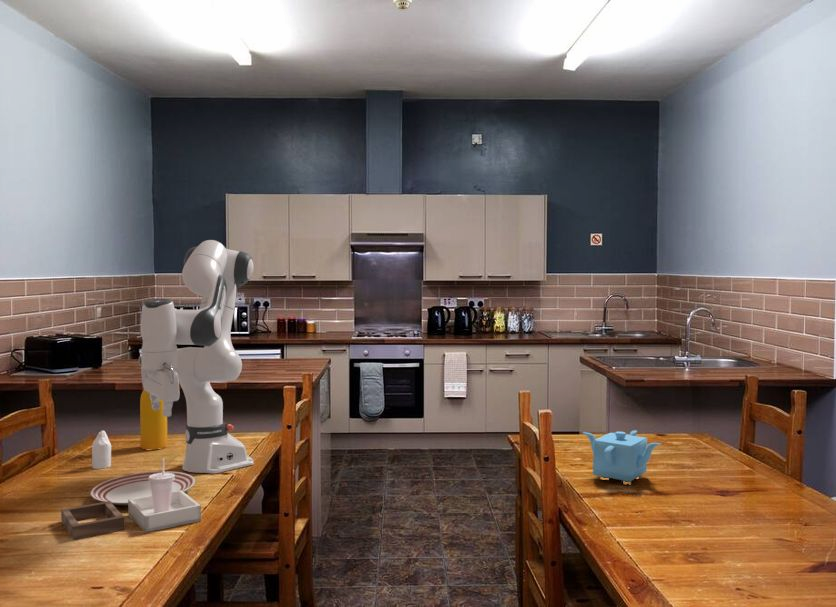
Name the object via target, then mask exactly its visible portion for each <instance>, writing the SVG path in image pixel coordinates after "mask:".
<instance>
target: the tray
mask: <svg viewBox="0 0 836 607" xmlns="http://www.w3.org/2000/svg"><path fill="white" fill-rule="evenodd" d="M201 505H202V504H200V503H199V502H197V501H196V500H195V499H193V498H192V497H191V496H190V495H188V494H187V493H186V492H183V491H182V490H178V491H172V496H171V505H170V511H164V512H159V513H154V507H153V500H152V495H150V496H145V497H139V498H133V499H128V506H127V507H128V508H127V509H128V514H129V515H130V516H131V517H132V518H131V517H130V516H129V515H128V514H127V515H128V516H129V517H130V518H131V519H132V520H133V521H134V522H135V524H136V525H137V526H139V528H140V527H141V528H142V529H143V530H144V531H143V530H142V529H141V528H140V529H141V530H142V531H143V532H144V533H145V532H146V533H149V532H150V531H151V532H154V531H155V530H156V531H160V530H164V529H169V528H174V527H179V526H183V525H190V524H193V523H198V522H201V521H202V506H201Z"/></svg>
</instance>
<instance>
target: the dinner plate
mask: <svg viewBox="0 0 836 607" xmlns="http://www.w3.org/2000/svg"><path fill="white" fill-rule="evenodd" d="M164 471H165V470H164ZM165 472H167V473H173V474H174V475H175V479H174V480H173V488H172V491H178V490H182V491H183V492H184V493H186V492H188V491H189V490H191V488H192V487H193V486H194V485H195V483H196V479H195V477H194V476H192V475H191V474H187V473H185V472H180V471H169V470H167V471H165ZM156 473H162V470H160V471H159V470H157V471H156V470H154V471H143V472H136V473H135V472H134V473H130V474H126V475H125V474H124V475H122V476H121V475H120V476H117V477H114V478H111V479H108V480H105V481H103V482H100V483H99V484H97V485H96V486H94V487H93V488H92V490H90V496H91V497H92V499H93V500H96V501H98V502H100V503H101V502H107V501H110V502H111V503H112V504H113V505H117V506H125V507H128V499H133V498H139V497H145V496H150V495H152V493H151V486H150V482H149V481H148V480H149V476H150V475H153V474H156Z"/></svg>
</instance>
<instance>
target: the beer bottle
mask: <svg viewBox="0 0 836 607" xmlns="http://www.w3.org/2000/svg"><path fill="white" fill-rule="evenodd" d="M139 400H140V401H139V403H140V404H139V410H140V412H139V415H140V418H139V419H140V420H139V421H140V426H139V427H140V432H139V433H140V442H139V444H140V449H141V448H142V449H141V450H143V449H158V448H163V447H165V446H167V447H168V443H169V441H168V417H165V416H163V409H164V404H163V400H161V399H159V403H160V409H159V410H153V409H152V403H151V399H150V393H148V392H147V391H145V390H144V389H142V392H141V394H140V399H139Z"/></svg>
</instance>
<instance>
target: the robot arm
mask: <svg viewBox="0 0 836 607" xmlns="http://www.w3.org/2000/svg"><path fill="white" fill-rule="evenodd" d="M184 255H185V256H184V259H183V267H182V268H183V269H182V271H181V277H182V281H183V284H184V285H185V287H186V288H187V289H188V290H189V291H190V292H192V293H193V294H195V295H197V296H201V299H200V303H199V309H177V308H175V304H174V301H173V300H171V299H169V298H156V299H155V298H154V299H149V300H147V301H146V302H144V303H143V305H142V308H141V313H140V314H141V316H140V336H141V339H142V346H141V356H139V357H138V365H139V366H140V373H141V383H142V388H143V390H145V391H147V392H148V393H150V399H151V403H152V409H153V410H159V409H160V403H159V399H161V400H163V404H164V409H163V416H165V417H167V418H168V417H171V416H172V409H173V404H174V402H178V401H179V399H180V393H181V392H180V387H181V389H182V392H183V394H184V397H185V402H186V416H187V417H186V421H187V424H186V425H185V442H186V445H185V446H186V448H185V454H184V455H185V456H184V459H183V464H182V468H181V469H182V470H183V471H185V472H187V473H188V472H189V473H196V474H197V473H199V474H203V473H205V474H213V475H214V474H218V473H219V474H220V473H224V472H227V471H232V470H236V469H237V470H238V469H240V468H245V467H250V466H252V465H254V464H255V462H254V461H255V460H254V459H253V458H252V457H251V456H249V455H248V454H247V449H246V446H245V445H244V443H243V442H241V441H240V440H239V439H238V438H236V437H234V436H233V435H231V434H230V433H229V432H232V431H233V430H234V428H235V427H234V425H232V424H231V423H230V424H229V423H226V422H224V420H223V419H224V418H223V417H224V416H223V415H224V412H223V410H224V405H223V404H224V402H223V399H222V397H221V395H219V394H218V393H216V392H215V391H214V389H213V387H212V385H211V383H217V384H221V383H228V382H233V381H235V380H237V379H238V377H240V374H241V373H242V369H243V361H242V359H241V356H240V355H239V353H238V352H237V351H236V350H235V347H234V346H233V343H232V339H231V338H232V336H231V330H232V325H233V319H234V313H235V307H236V302H237V290H238V289H240V288H241V287H242V286H243V285H245V284H247V283H249V281H250V280H251V277H252V276H253V273H254V260H253V257H252V256H251V254H249V253H247V252H244V251H239V250H233V249H229V248H226V246H225V245H223V243H222V242H219V241H218V240H215V239H208V240H204V241H201V243H199V245H198V246H192V247H190V248H189V249H188V250H187V251H186V253H185V254H184ZM177 345H179V346H181V345H184V346H185V345H186V346H187V347H181V348H178V346H177ZM188 345H190V346H188ZM191 345H194V347H193V346H191ZM195 346H203V347H195Z"/></svg>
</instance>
